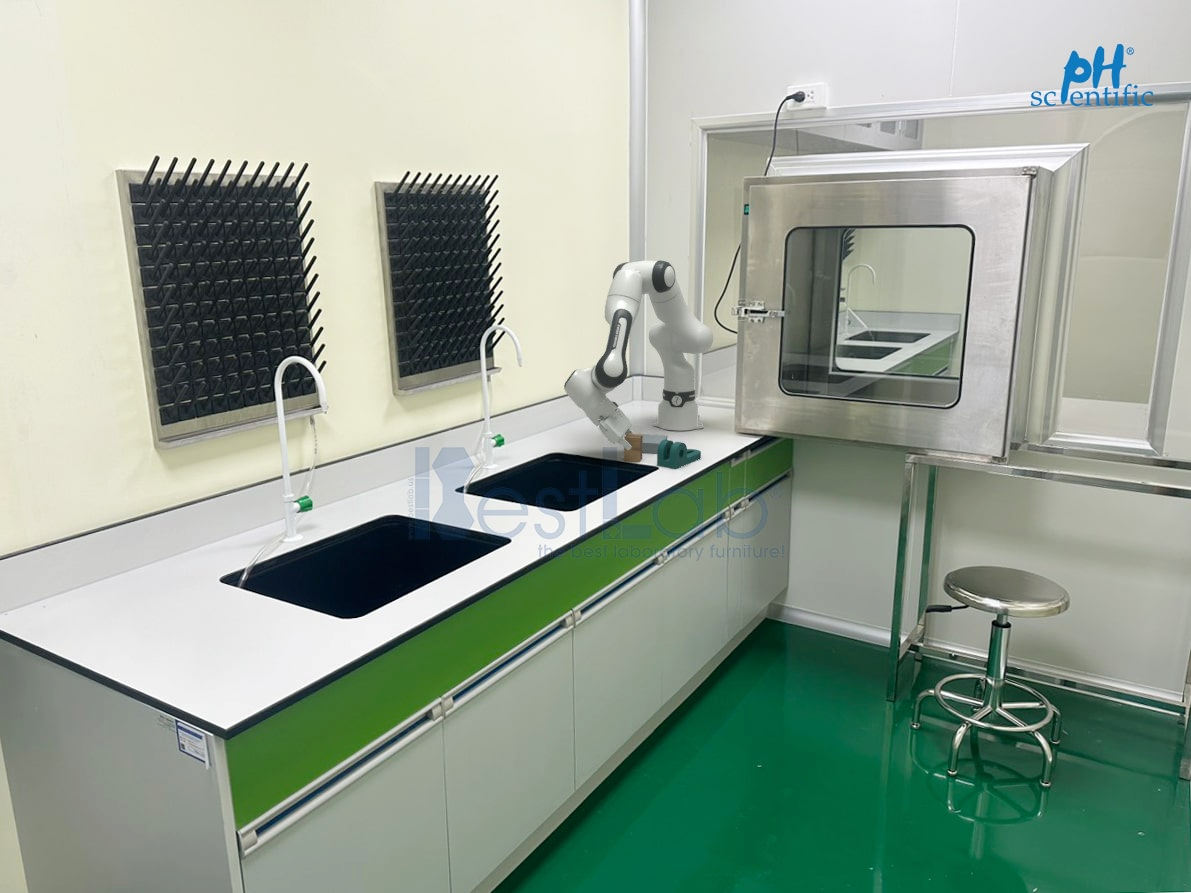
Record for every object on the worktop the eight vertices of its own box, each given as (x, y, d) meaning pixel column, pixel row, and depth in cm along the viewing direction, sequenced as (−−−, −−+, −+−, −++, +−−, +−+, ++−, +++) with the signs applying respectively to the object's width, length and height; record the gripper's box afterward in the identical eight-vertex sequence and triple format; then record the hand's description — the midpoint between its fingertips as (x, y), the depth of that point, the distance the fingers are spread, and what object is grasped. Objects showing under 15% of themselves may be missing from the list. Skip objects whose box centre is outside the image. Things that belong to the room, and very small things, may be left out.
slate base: (632, 444, 298) (632, 433, 297) (667, 446, 296) (667, 435, 295) (626, 453, 287) (626, 441, 286) (662, 455, 284) (662, 443, 283)
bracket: (675, 469, 267) (676, 445, 265) (656, 466, 271) (657, 441, 269) (704, 457, 281) (705, 434, 279) (686, 454, 285) (687, 431, 283)
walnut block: (626, 457, 280) (627, 433, 278) (642, 458, 279) (642, 434, 277) (624, 461, 276) (624, 437, 274) (639, 462, 274) (639, 438, 273)
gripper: (603, 413, 265) (634, 446, 265) (616, 401, 284) (645, 431, 285) (589, 427, 267) (620, 459, 267) (603, 413, 286) (631, 443, 287)
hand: (633, 445), depth 276 cm, fingers open, 8 cm apart
